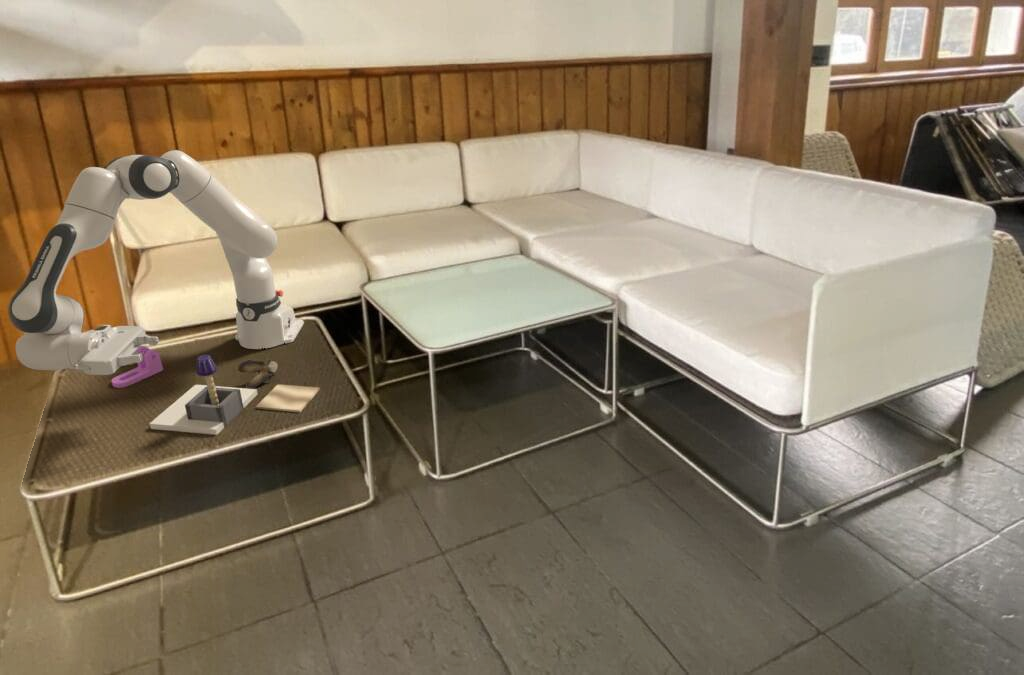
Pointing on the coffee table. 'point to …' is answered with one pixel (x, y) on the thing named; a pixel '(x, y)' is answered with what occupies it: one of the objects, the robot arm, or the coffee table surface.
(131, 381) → the bracket
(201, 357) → the toy lamp
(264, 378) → the eagle figurine
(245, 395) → the socket board
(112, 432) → the coffee table surface
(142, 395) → the coffee table surface
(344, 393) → the coffee table surface
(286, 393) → the birch pad
